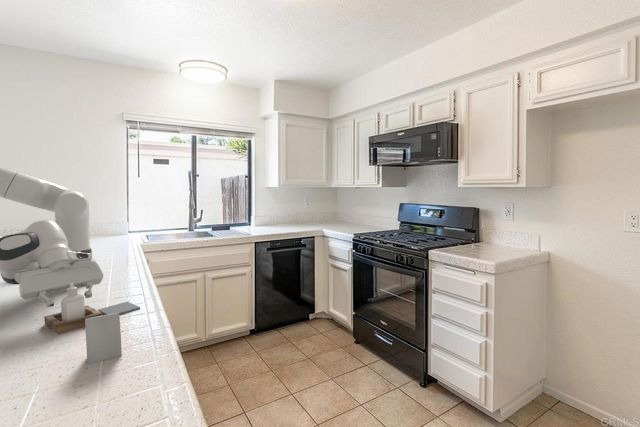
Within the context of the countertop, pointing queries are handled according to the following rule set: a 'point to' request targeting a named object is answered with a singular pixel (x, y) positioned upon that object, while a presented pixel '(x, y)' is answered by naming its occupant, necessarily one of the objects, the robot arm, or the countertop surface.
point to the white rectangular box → (103, 337)
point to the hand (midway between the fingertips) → (70, 301)
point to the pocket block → (60, 327)
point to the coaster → (119, 308)
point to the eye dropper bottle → (72, 305)
